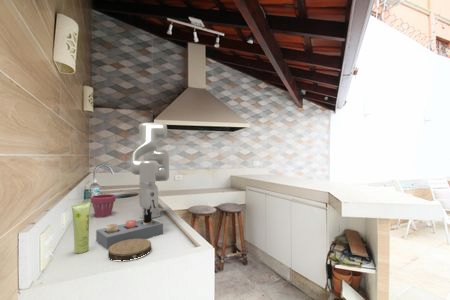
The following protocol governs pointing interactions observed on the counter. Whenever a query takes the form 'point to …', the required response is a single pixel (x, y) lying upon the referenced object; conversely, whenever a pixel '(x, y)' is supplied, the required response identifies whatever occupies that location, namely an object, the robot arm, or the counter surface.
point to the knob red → (130, 224)
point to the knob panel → (129, 233)
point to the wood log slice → (129, 249)
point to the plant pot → (103, 204)
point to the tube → (81, 226)
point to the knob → (112, 228)
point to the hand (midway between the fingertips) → (147, 222)
